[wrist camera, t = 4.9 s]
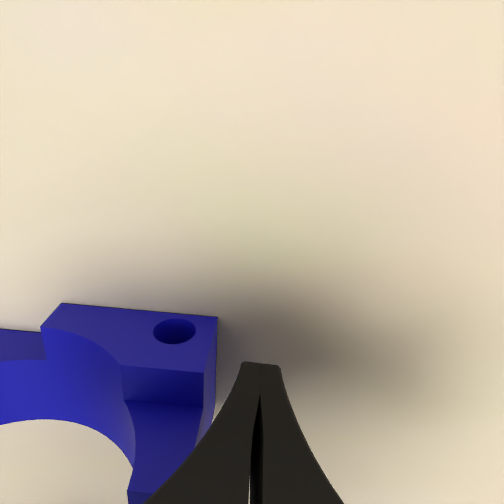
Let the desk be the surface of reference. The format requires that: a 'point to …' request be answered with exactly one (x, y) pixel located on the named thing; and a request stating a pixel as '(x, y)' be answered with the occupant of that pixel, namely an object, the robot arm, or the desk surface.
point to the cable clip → (117, 382)
